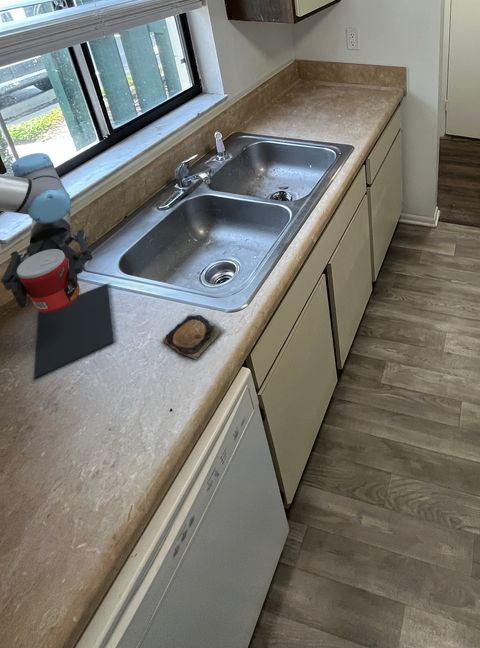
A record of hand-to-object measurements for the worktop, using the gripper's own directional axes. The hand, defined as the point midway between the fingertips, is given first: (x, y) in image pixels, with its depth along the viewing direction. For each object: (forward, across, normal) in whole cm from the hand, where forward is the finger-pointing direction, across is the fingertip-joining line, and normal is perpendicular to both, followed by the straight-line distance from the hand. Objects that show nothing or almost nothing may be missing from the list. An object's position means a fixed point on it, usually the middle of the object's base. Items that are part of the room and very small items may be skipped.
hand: (47, 292), depth 89 cm
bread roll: (+12, -22, -18) cm, 31 cm away
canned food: (-5, 0, -7) cm, 8 cm away
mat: (-7, 0, -18) cm, 19 cm away
